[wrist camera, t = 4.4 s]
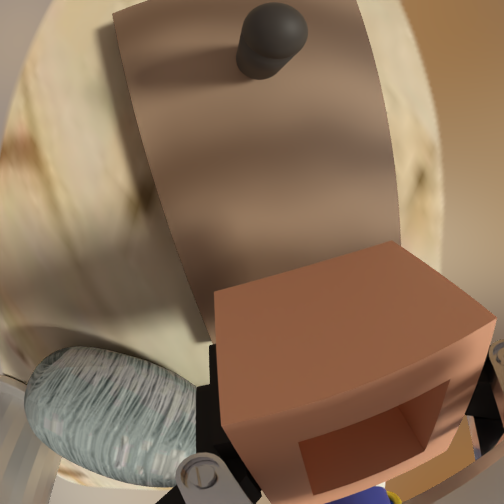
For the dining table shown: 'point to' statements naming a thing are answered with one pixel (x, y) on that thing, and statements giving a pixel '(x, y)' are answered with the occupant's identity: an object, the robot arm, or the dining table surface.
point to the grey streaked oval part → (113, 414)
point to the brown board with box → (260, 134)
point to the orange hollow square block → (346, 371)
